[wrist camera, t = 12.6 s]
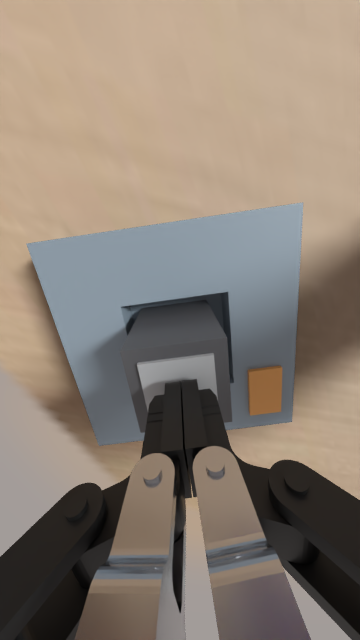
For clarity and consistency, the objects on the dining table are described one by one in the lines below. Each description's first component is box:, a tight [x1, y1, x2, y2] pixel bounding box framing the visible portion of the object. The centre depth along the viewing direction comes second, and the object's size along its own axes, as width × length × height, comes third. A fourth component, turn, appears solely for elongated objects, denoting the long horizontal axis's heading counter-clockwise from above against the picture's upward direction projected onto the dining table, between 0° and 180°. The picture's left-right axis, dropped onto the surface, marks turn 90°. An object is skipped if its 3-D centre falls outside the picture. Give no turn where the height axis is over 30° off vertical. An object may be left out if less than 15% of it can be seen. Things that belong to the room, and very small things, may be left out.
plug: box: [120, 300, 232, 433], centre depth 14 cm, size 5×5×7 cm
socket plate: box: [27, 203, 303, 446], centre depth 16 cm, size 16×16×3 cm
